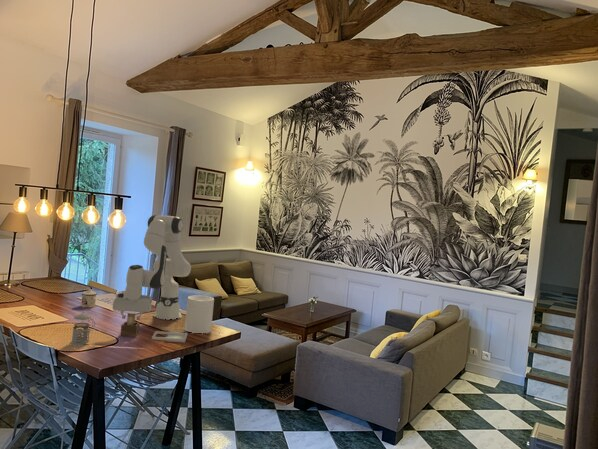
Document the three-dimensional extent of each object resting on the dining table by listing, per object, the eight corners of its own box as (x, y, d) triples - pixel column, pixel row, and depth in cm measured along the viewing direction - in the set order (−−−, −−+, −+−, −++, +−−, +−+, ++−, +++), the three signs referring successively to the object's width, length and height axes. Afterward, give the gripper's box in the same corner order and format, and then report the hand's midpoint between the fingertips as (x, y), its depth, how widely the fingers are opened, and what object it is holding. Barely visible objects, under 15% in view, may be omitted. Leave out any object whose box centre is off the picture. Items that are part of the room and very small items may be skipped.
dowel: (126, 333, 246) (128, 312, 246) (134, 333, 247) (136, 312, 247) (124, 335, 242) (127, 314, 242) (132, 335, 243) (134, 314, 243)
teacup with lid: (78, 305, 298) (79, 288, 298) (90, 304, 306) (92, 287, 306) (87, 309, 292) (89, 292, 292) (100, 307, 299) (102, 290, 299)
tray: (155, 334, 253) (155, 331, 253) (187, 336, 255) (187, 332, 255) (151, 340, 241) (151, 337, 241) (185, 342, 244) (185, 339, 244)
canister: (190, 325, 279) (193, 294, 278) (214, 328, 277) (217, 297, 277) (180, 331, 263) (183, 298, 262) (206, 335, 261) (209, 302, 261)
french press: (65, 342, 224) (69, 294, 223) (87, 338, 234) (91, 292, 233) (76, 347, 218) (80, 297, 218) (97, 343, 228) (102, 295, 227)
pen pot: (123, 333, 248) (124, 321, 248) (138, 334, 249) (139, 322, 249) (120, 337, 240) (121, 325, 240) (135, 338, 241) (136, 326, 241)
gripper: (153, 294, 249) (151, 318, 249) (115, 292, 246) (113, 316, 246) (151, 296, 243) (149, 321, 243) (112, 294, 240) (110, 319, 240)
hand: (131, 319), depth 245 cm, fingers open, 6 cm apart
